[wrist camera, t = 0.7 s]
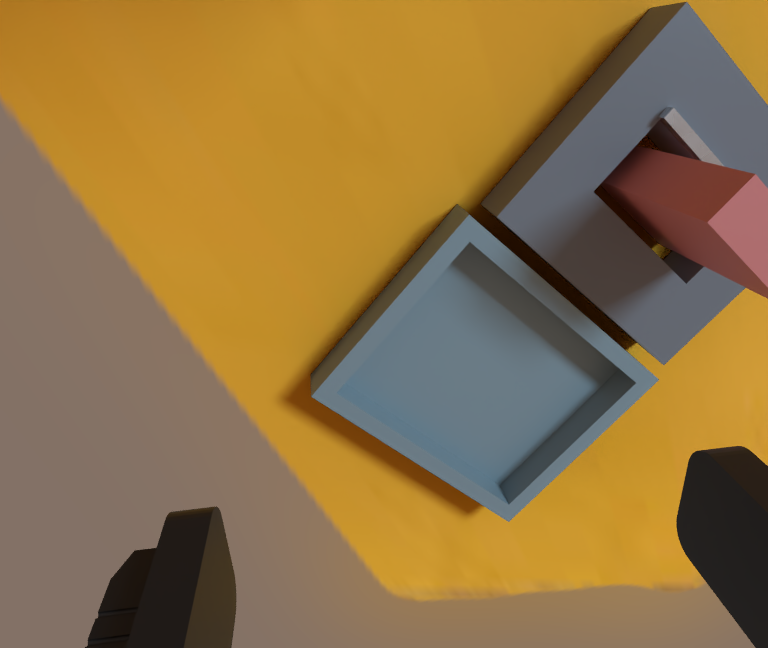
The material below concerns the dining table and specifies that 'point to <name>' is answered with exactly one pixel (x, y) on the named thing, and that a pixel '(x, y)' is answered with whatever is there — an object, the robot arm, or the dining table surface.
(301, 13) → the dining table surface
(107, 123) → the dining table surface
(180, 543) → the robot arm
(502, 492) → the tray
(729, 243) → the pink block
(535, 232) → the grey square-hole plate
